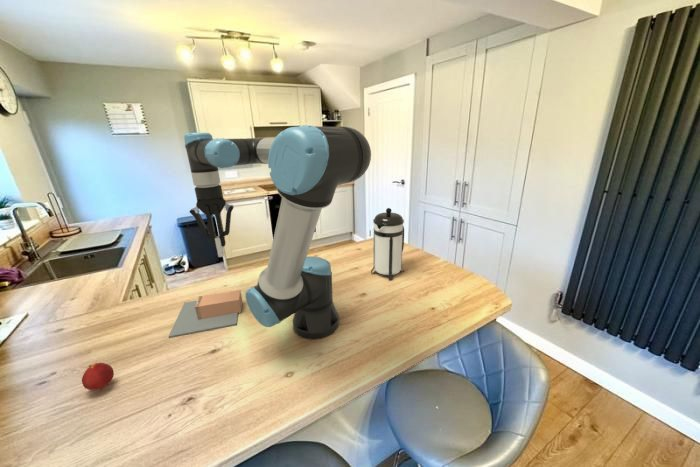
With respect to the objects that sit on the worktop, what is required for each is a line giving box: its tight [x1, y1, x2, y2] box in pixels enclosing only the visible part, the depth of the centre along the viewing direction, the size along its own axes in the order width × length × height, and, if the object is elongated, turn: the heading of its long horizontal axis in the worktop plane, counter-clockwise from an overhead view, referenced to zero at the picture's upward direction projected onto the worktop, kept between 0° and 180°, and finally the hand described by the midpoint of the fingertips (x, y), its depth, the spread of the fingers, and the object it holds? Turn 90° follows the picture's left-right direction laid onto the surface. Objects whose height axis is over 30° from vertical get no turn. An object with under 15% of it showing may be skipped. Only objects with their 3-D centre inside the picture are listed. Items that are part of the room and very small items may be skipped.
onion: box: [81, 362, 115, 391], centre depth 69 cm, size 6×6×8 cm
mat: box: [168, 300, 239, 339], centre depth 100 cm, size 20×20×1 cm
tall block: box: [195, 289, 243, 320], centre depth 100 cm, size 7×5×14 cm
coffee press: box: [370, 207, 405, 281], centre depth 122 cm, size 17×16×30 cm
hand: (221, 255), depth 94 cm, fingers closed
